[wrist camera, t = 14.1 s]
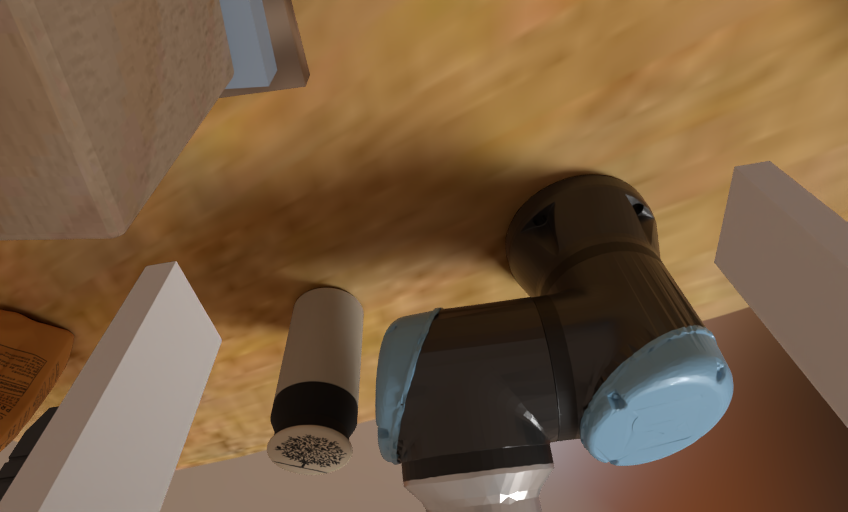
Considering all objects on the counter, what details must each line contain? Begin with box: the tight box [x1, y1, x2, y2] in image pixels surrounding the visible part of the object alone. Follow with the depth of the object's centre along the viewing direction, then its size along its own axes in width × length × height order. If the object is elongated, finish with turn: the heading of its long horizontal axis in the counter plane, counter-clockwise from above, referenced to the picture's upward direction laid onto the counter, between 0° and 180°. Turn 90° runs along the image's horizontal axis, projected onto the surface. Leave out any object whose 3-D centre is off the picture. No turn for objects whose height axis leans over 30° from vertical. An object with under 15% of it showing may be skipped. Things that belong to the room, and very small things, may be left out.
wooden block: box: [0, 0, 234, 240], centre depth 26 cm, size 10×10×20 cm
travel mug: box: [267, 288, 363, 475], centre depth 53 cm, size 8×8×18 cm
